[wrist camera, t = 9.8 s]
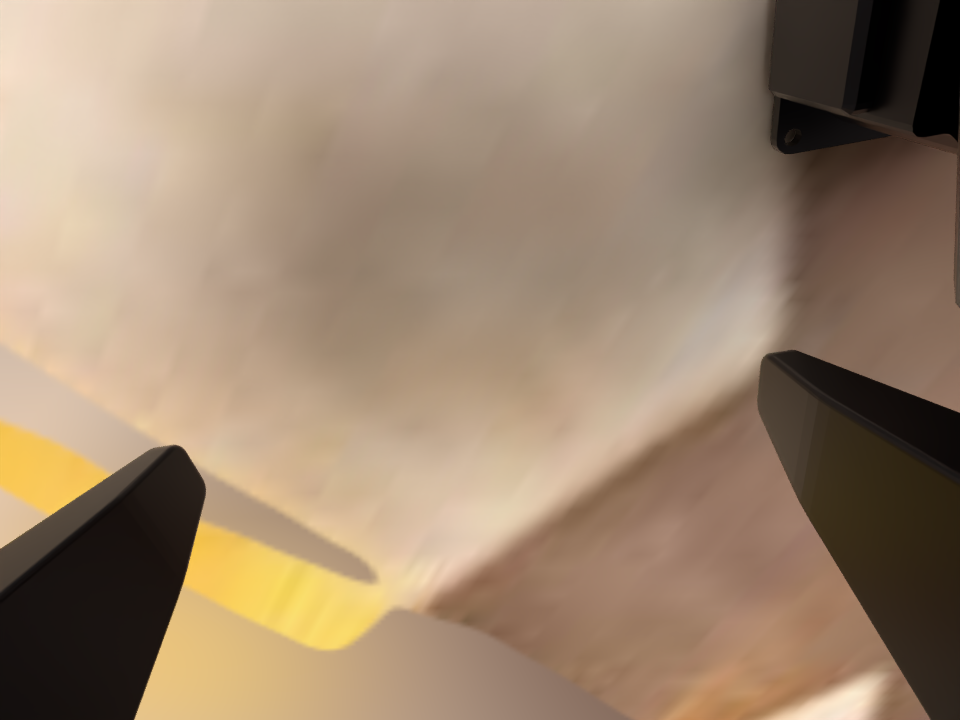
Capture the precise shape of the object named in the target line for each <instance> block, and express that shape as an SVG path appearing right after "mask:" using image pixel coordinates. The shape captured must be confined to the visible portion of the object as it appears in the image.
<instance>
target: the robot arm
mask: <svg viewBox="0 0 960 720" xmlns="http://www.w3.org/2000/svg"><path fill="white" fill-rule="evenodd" d="M769 90H770V91H771V92H772V93H773V94H774V95H775V97H774V107H773V118H772V129H771V144H772V146H773V147H774V149H776V150H778V151H780V152H782V153H784V154H794V153H800V152H805V151H810V150H816V149H821V148H827V147H832V146H838V145H843V144H849V143H854V142H860V141H865V140H871V139H876V138H882V137H887V136H896V137H899V138H902V139H906V140H909V141H913V142H916V143H919V144H923V145H926V146H930V147H933V148H936V149H940V150H943V151H947V152H950V153H953V154H957V155H958V160H957V191H956V222H955V253H954V287H955V300H956V304H957V305H958V306H959V307H960V0H776V10H775V22H774V33H773V44H772V56H771V67H770V79H769ZM792 129H795V136H794V138H793V139H792V140H791V141H790V142H788V143H785V136H786V134H787V133H788V132H789V131H790V130H792ZM757 406H758V411H759V414H760V417H761V419H762V421H763V423H764V426H765V428H766V430H767V432H768V434H769V437H770V439H771V441H772V443H773V445H774V448H775V450H776V452H777V454H778V457H779V459H780V461H781V463H782V465H783V468H784V470H785V472H786V474H787V476H788V479H789V481H790V483H791V485H792V487H793V490H794V492H795V494H796V496H797V498H798V500H799V502H800V504H801V505H802V507H803V509H804V511H805V513H806V514H807V516H808V518H809V519H810V521H811V523H812V524H813V526H814V528H815V529H816V531H817V533H818V534H819V536H820V538H821V539H822V541H823V543H824V544H825V546H826V548H827V549H828V551H829V553H830V554H831V556H832V558H833V559H834V561H835V562H836V564H837V566H838V567H839V569H840V571H841V572H842V574H843V576H844V577H845V579H846V581H847V582H848V584H849V586H850V587H851V589H852V591H853V592H854V594H855V596H856V597H857V599H858V601H859V602H860V604H861V605H862V607H863V609H864V610H865V612H866V614H867V615H868V617H869V619H870V620H871V622H872V624H873V625H874V627H875V629H876V630H877V632H878V634H879V635H880V637H881V639H882V640H883V642H884V644H885V645H886V647H887V648H888V650H889V652H890V653H891V655H892V657H893V658H894V660H895V662H896V663H897V665H898V667H899V668H900V670H901V672H902V673H903V675H904V677H905V678H906V680H907V682H908V683H909V685H910V687H911V688H912V690H913V692H914V693H915V695H916V696H917V698H918V700H919V701H920V703H921V705H922V706H923V708H924V710H925V711H926V713H927V715H928V716H929V718H930V720H960V413H959V412H956V411H954V410H951V409H948V408H946V407H943V406H941V405H938V404H935V403H933V402H930V401H927V400H925V399H922V398H920V397H917V396H914V395H912V394H909V393H907V392H904V391H901V390H899V389H896V388H893V387H891V386H888V385H886V384H883V383H880V382H878V381H875V380H872V379H870V378H867V377H865V376H862V375H859V374H857V373H854V372H852V371H849V370H846V369H844V368H841V367H838V366H836V365H833V364H831V363H828V362H825V361H823V360H820V359H818V358H815V357H812V356H810V355H807V354H804V353H802V352H799V351H796V350H787V351H781V352H775V353H769V354H766V355H765V356H764V357H763V359H762V361H761V366H760V376H759V385H758V395H757ZM205 496H206V488H205V483H204V480H203V478H202V477H201V475H200V473H199V472H198V470H197V469H196V467H195V465H194V464H193V462H192V460H191V459H190V457H189V456H188V454H187V452H186V451H185V450H184V449H183V448H182V447H181V446H178V445H170V446H163V447H157V448H153V449H150V450H149V451H147V452H145V453H144V454H143V455H141V456H139V457H138V458H137V459H135V460H133V461H132V462H130V463H129V464H127V465H126V466H124V467H123V468H122V469H120V470H118V471H117V472H115V473H114V474H112V475H111V476H109V477H108V478H106V479H105V480H103V481H102V482H100V483H99V484H97V485H96V486H94V487H93V488H91V489H90V490H88V491H87V492H85V493H84V494H82V495H81V496H79V497H78V498H76V499H75V500H73V501H72V502H70V503H69V504H67V505H66V506H64V507H63V508H61V509H60V510H58V511H57V512H55V513H54V514H52V515H51V516H49V517H48V518H46V519H45V520H43V521H42V522H40V523H39V524H37V525H36V526H34V527H33V528H31V529H30V530H28V531H27V532H25V533H24V534H22V535H21V536H19V537H18V538H16V539H15V540H13V541H12V542H10V543H9V544H7V545H5V546H4V547H2V548H1V549H0V720H134V719H135V716H136V713H137V711H138V708H139V705H140V702H141V700H142V697H143V694H144V691H145V689H146V686H147V683H148V680H149V678H150V675H151V672H152V669H153V667H154V664H155V661H156V658H157V655H158V653H159V650H160V647H161V644H162V641H163V639H164V636H165V633H166V631H167V628H168V625H169V622H170V620H171V617H172V614H173V611H174V608H175V606H176V603H177V600H178V597H179V594H180V591H181V589H182V586H183V582H184V579H185V575H186V572H187V568H188V564H189V560H190V556H191V552H192V548H193V544H194V540H195V536H196V532H197V528H198V524H199V520H200V516H201V512H202V508H203V504H204V500H205Z"/></svg>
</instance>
